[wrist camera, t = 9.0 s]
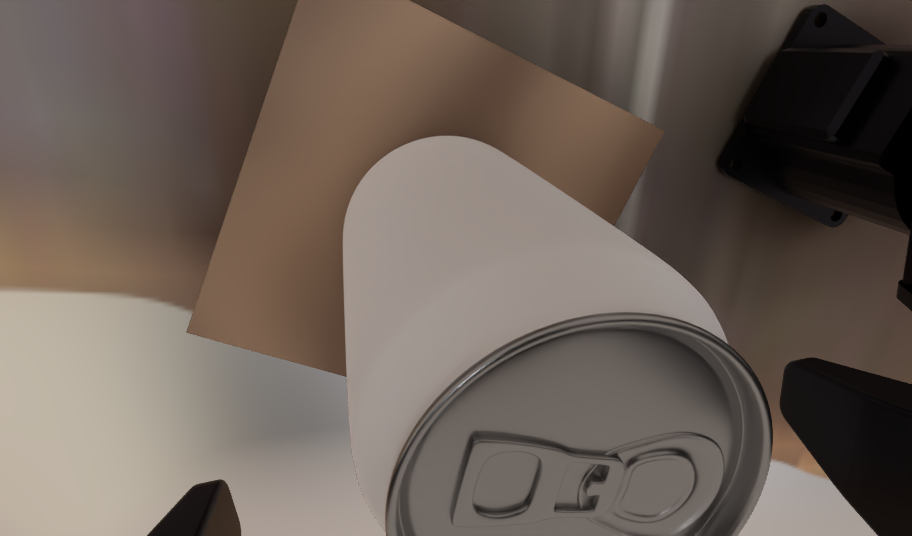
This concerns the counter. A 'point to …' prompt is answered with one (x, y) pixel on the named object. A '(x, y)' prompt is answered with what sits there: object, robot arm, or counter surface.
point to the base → (370, 139)
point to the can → (533, 363)
